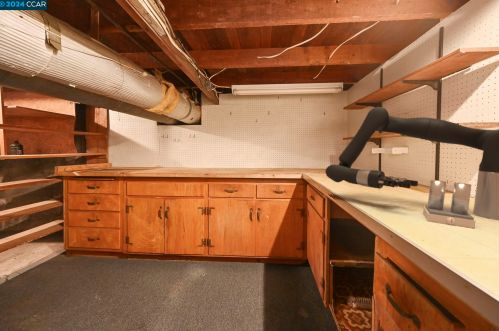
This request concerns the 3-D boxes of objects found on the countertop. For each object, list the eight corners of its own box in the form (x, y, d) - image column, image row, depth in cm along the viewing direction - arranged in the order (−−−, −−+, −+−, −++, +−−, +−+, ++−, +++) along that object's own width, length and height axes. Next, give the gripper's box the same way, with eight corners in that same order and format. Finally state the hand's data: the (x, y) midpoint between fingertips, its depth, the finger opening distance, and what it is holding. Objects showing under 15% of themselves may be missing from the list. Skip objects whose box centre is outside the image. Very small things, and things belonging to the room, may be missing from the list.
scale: (423, 213, 91) (423, 204, 91) (464, 219, 85) (465, 210, 85) (427, 221, 80) (428, 211, 80) (475, 229, 74) (476, 218, 74)
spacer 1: (426, 206, 88) (429, 179, 87) (441, 208, 86) (444, 181, 85) (428, 208, 84) (431, 181, 84) (444, 210, 82) (447, 182, 81)
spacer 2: (449, 210, 83) (452, 182, 82) (465, 212, 81) (469, 183, 80) (452, 213, 80) (455, 183, 79) (469, 215, 77) (473, 185, 76)
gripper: (363, 170, 97) (409, 175, 85) (378, 169, 107) (421, 174, 94) (362, 188, 98) (406, 196, 86) (376, 185, 107) (418, 192, 95)
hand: (414, 184), depth 90 cm, fingers open, 8 cm apart
